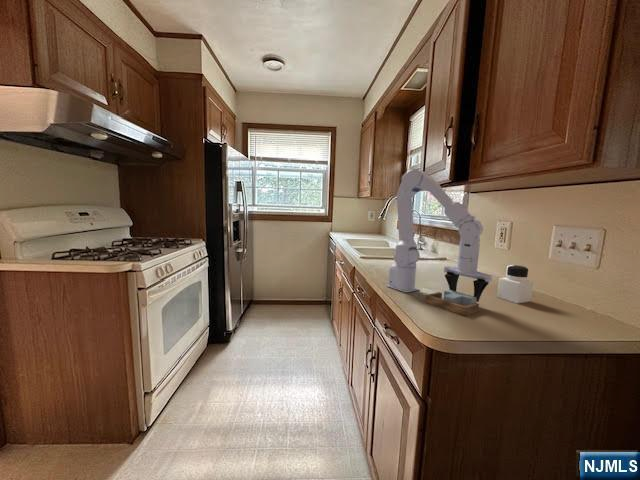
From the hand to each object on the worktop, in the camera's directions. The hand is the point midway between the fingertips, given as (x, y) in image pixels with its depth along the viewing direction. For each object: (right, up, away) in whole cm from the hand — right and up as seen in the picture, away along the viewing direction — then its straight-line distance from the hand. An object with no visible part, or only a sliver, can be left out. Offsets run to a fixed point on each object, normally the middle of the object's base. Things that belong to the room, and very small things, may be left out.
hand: (464, 298), depth 90 cm
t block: (-4, -2, -2) cm, 5 cm away
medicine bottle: (+20, -2, +6) cm, 21 cm away
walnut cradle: (-7, -2, -4) cm, 8 cm away
